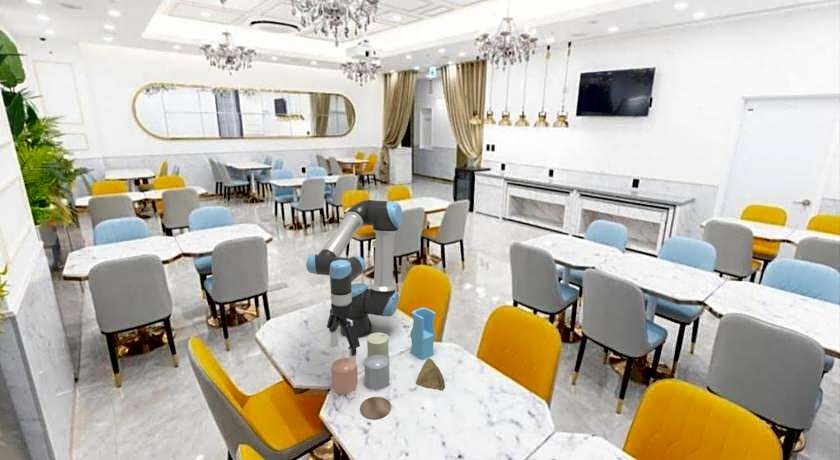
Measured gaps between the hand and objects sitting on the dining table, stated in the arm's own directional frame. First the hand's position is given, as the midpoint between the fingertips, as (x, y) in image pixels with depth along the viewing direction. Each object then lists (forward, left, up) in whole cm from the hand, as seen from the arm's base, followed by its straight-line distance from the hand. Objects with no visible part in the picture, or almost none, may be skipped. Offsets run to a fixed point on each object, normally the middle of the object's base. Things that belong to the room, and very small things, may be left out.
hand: (343, 354), depth 150 cm
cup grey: (-11, +6, -14) cm, 19 cm away
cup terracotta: (0, 0, -14) cm, 14 cm away
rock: (-26, +21, -14) cm, 36 cm away
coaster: (-2, +18, -14) cm, 23 cm away
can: (-19, -5, -14) cm, 25 cm away
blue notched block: (-38, +2, -14) cm, 41 cm away
